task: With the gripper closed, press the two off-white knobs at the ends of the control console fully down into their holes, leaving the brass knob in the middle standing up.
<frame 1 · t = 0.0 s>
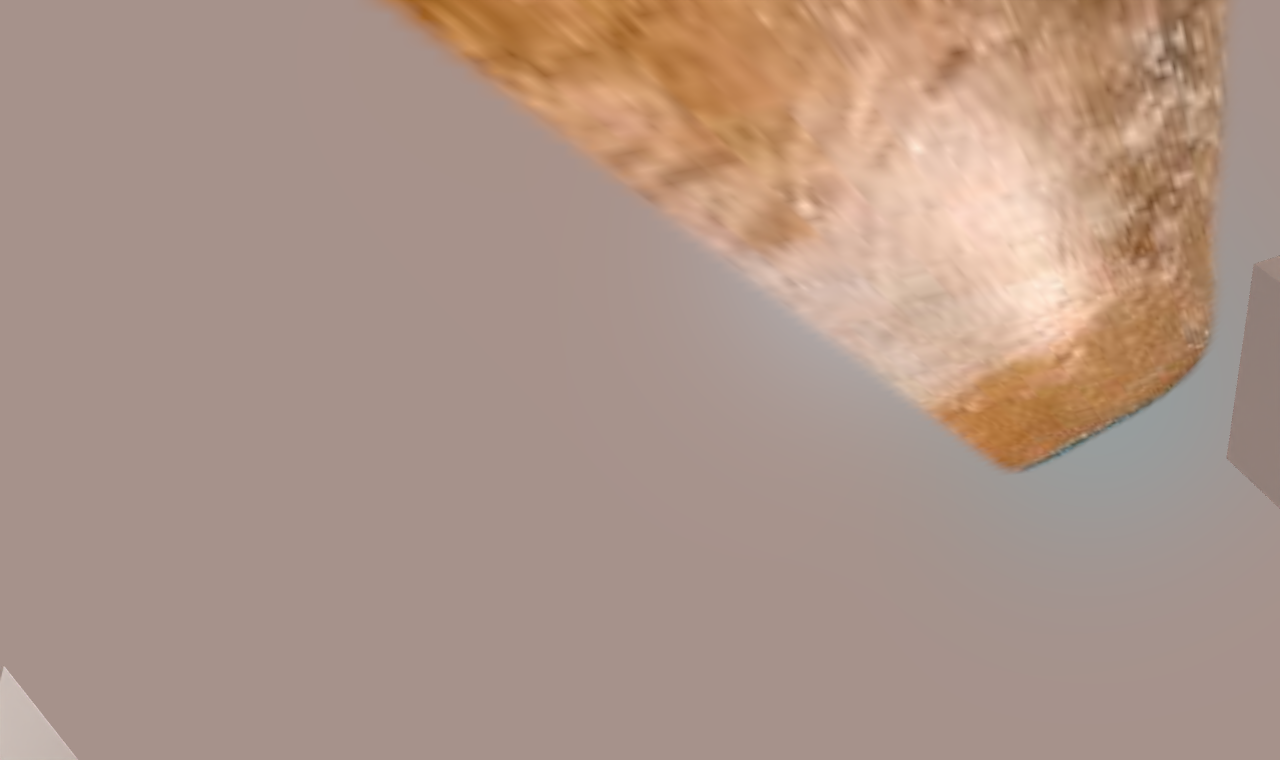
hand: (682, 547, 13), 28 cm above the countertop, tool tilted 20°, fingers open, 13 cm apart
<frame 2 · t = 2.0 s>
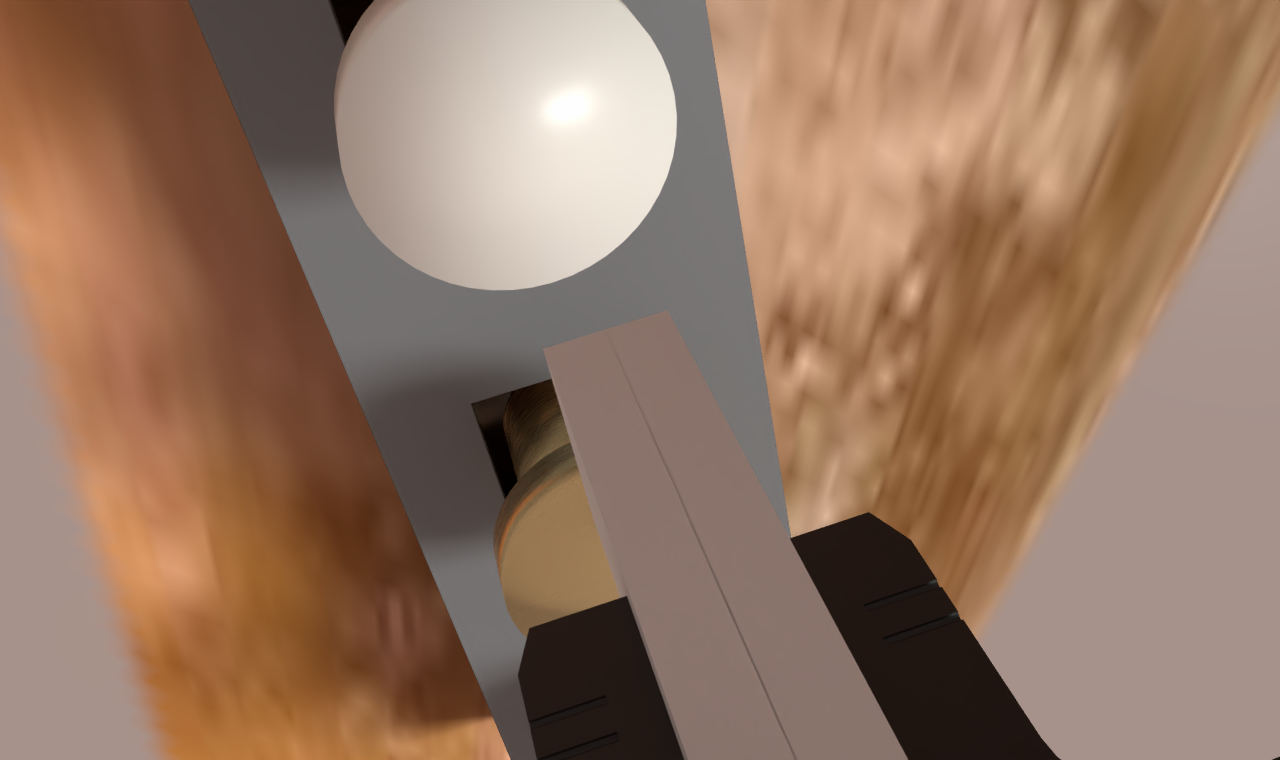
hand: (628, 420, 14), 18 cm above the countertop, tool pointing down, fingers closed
console: (551, 347, 35), on the countertop
brass knob: (602, 486, 30), point 7 cm above the countertop, slide at 0.0 cm
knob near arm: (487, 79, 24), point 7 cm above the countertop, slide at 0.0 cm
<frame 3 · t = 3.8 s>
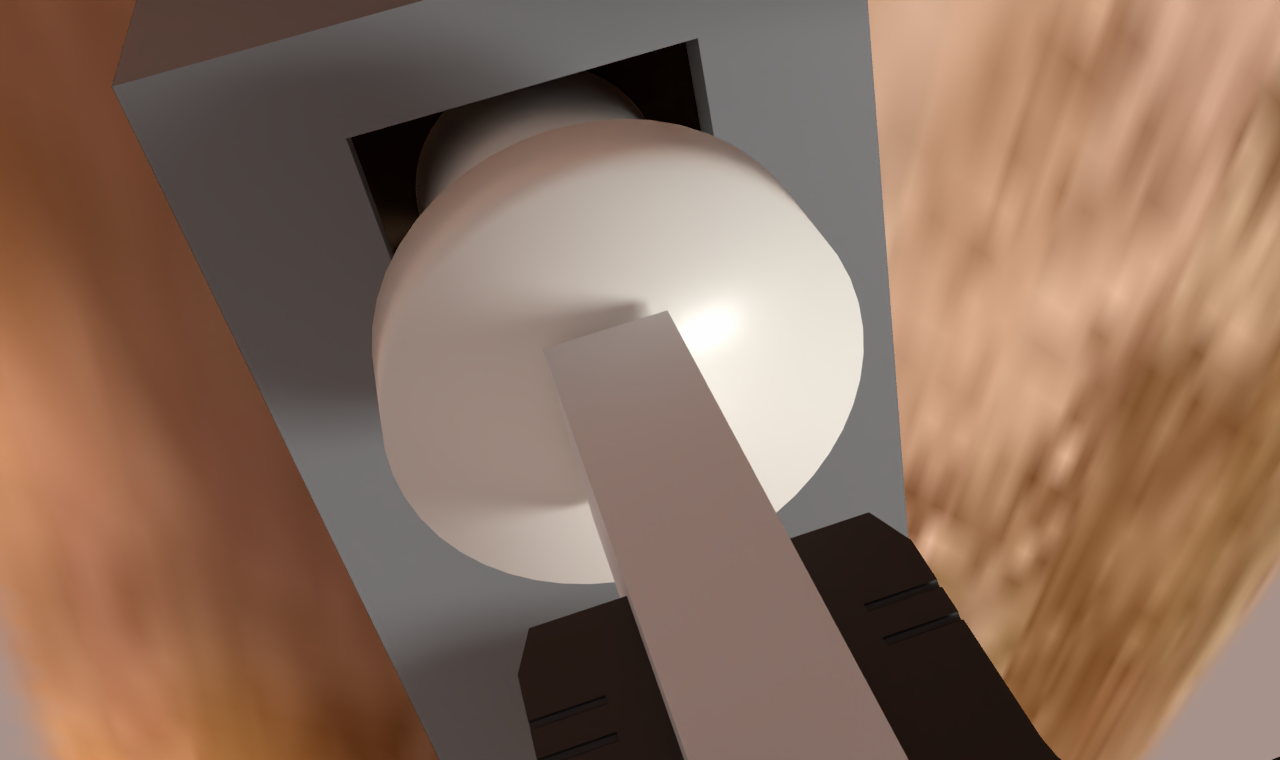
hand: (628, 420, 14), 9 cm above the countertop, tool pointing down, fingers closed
console: (627, 538, 28), on the countertop
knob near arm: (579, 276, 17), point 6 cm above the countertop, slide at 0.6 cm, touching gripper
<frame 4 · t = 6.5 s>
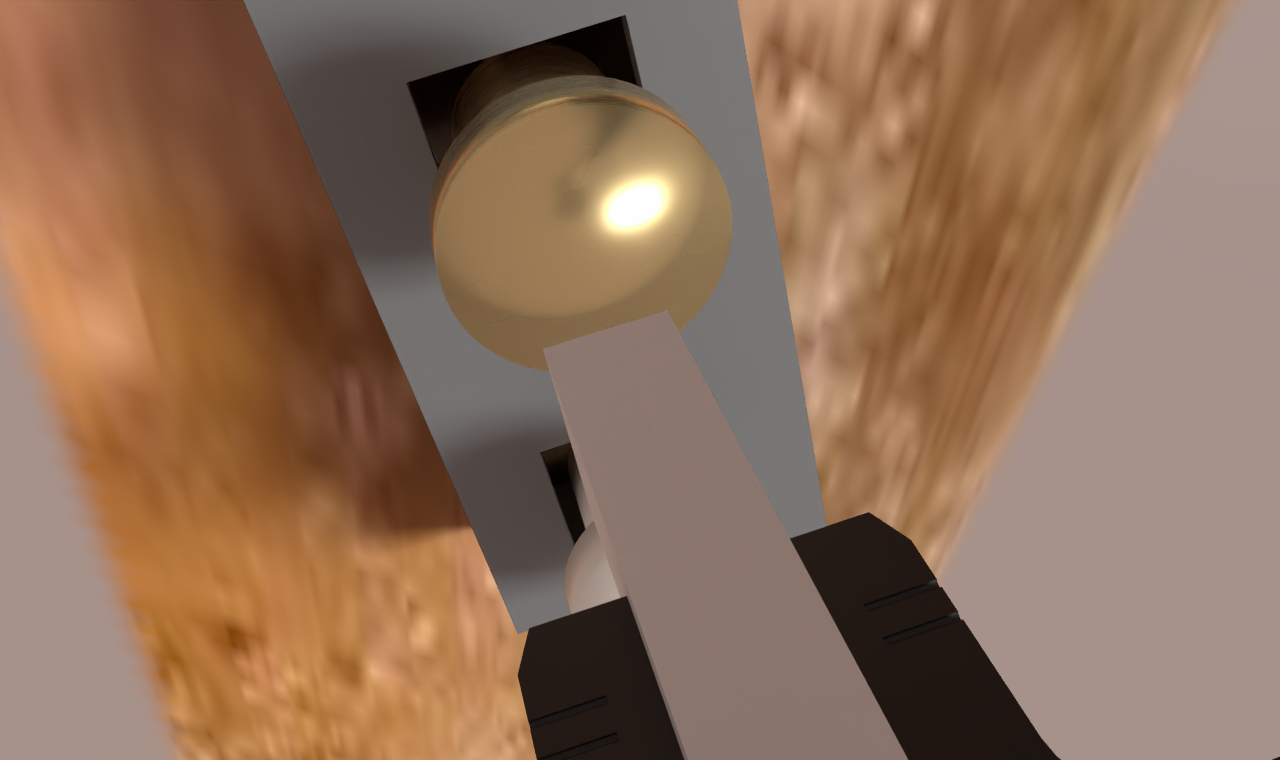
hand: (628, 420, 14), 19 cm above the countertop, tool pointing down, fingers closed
console: (512, 70, 32), on the countertop
brass knob: (559, 180, 26), point 7 cm above the countertop, slide at 0.0 cm
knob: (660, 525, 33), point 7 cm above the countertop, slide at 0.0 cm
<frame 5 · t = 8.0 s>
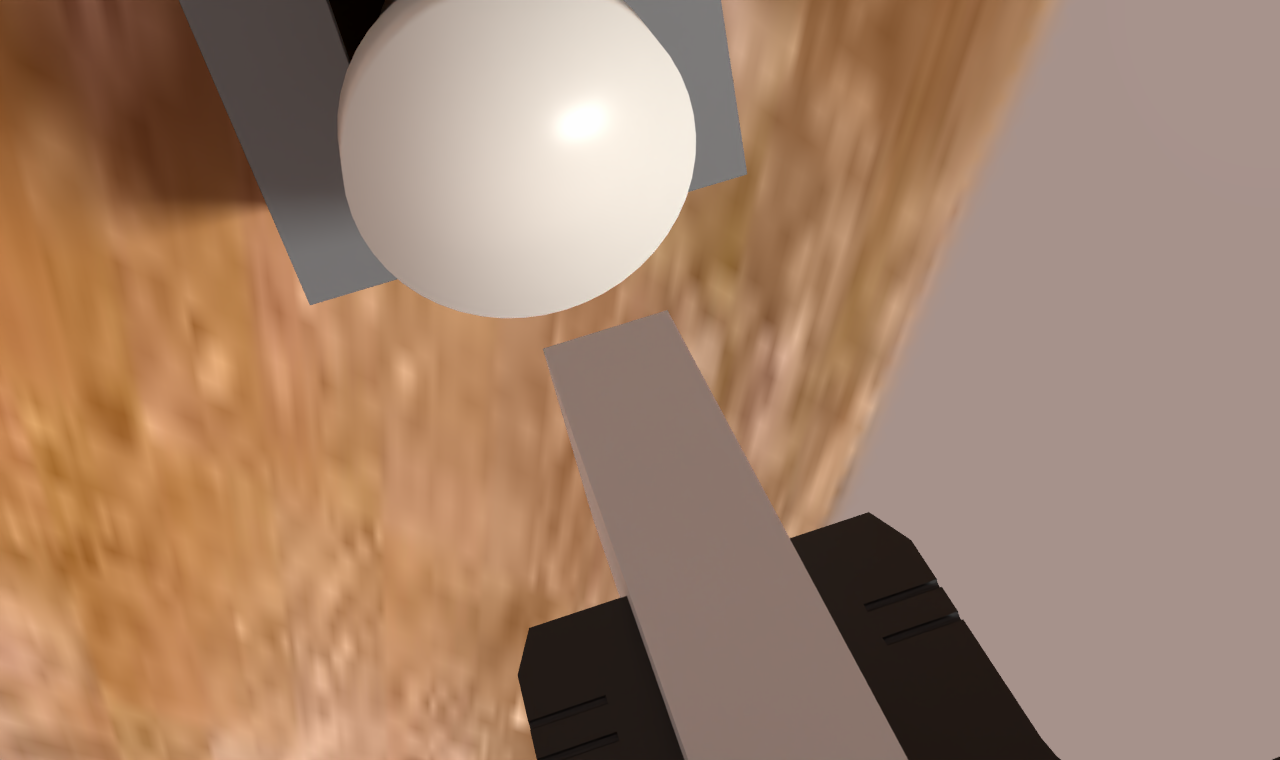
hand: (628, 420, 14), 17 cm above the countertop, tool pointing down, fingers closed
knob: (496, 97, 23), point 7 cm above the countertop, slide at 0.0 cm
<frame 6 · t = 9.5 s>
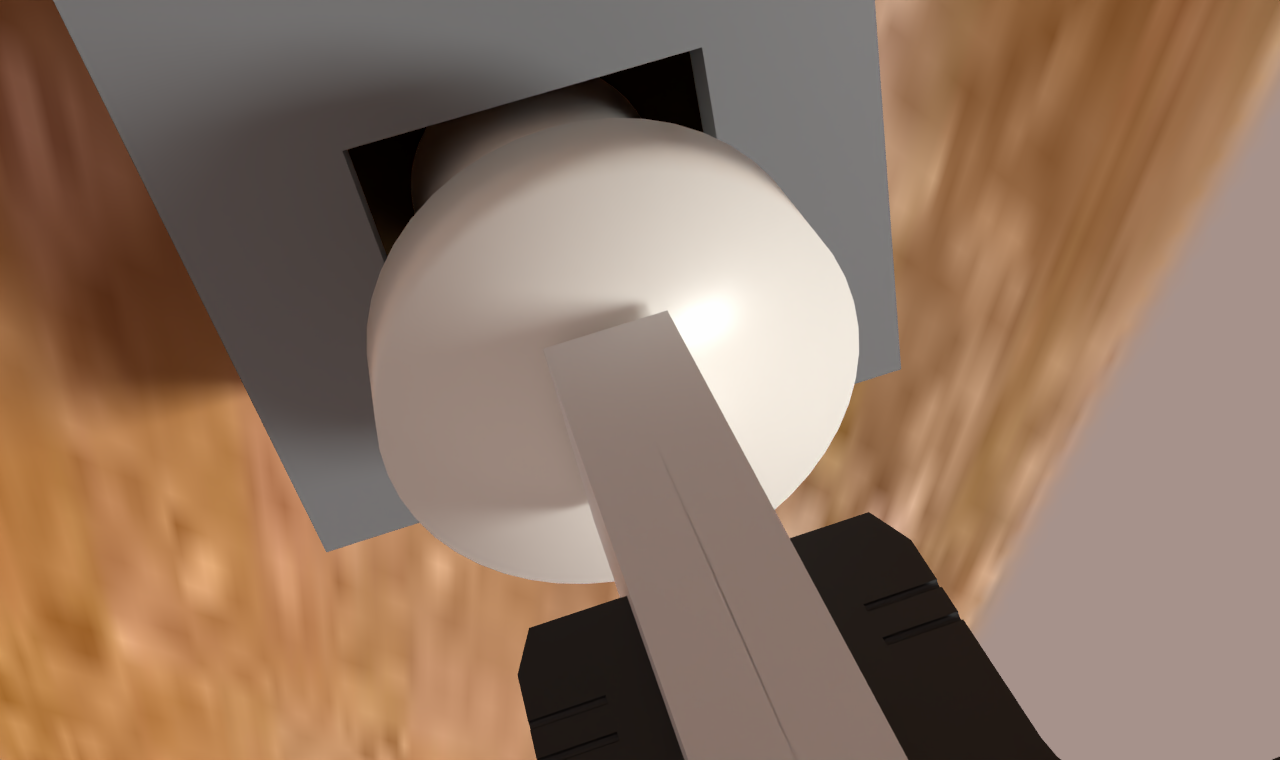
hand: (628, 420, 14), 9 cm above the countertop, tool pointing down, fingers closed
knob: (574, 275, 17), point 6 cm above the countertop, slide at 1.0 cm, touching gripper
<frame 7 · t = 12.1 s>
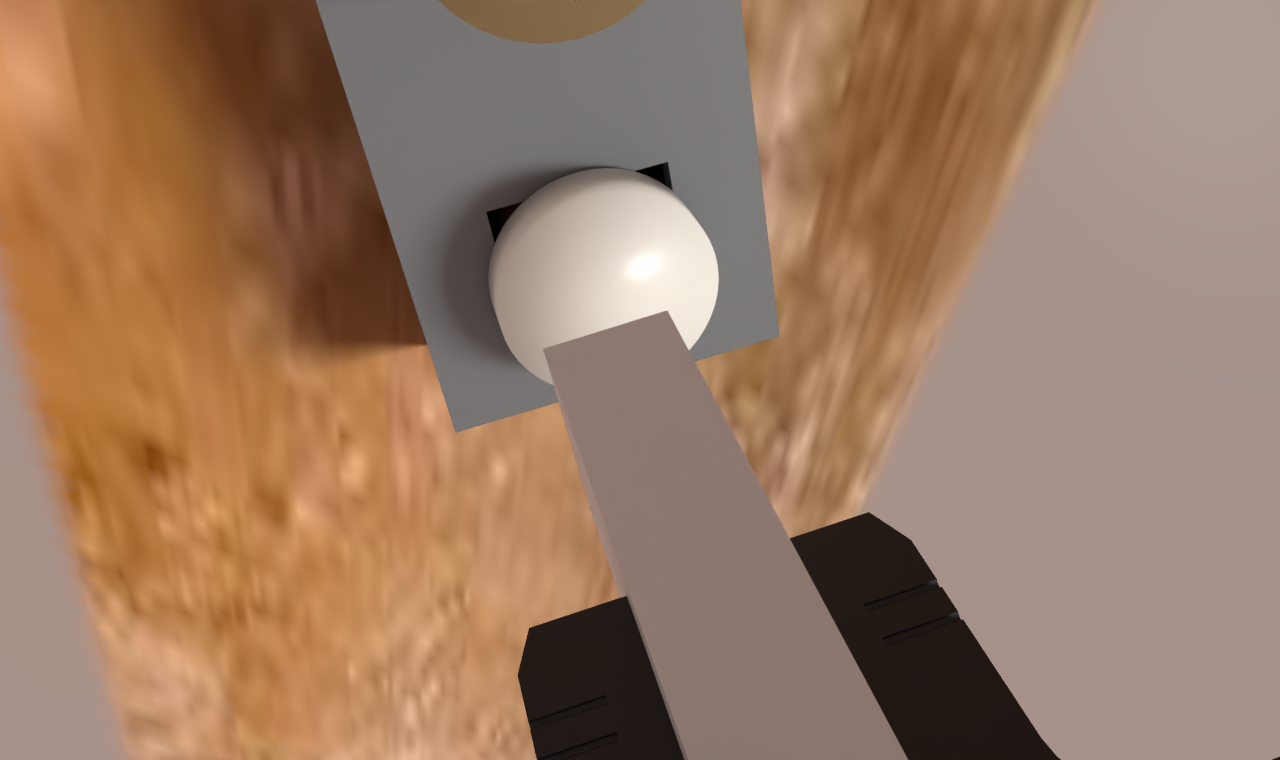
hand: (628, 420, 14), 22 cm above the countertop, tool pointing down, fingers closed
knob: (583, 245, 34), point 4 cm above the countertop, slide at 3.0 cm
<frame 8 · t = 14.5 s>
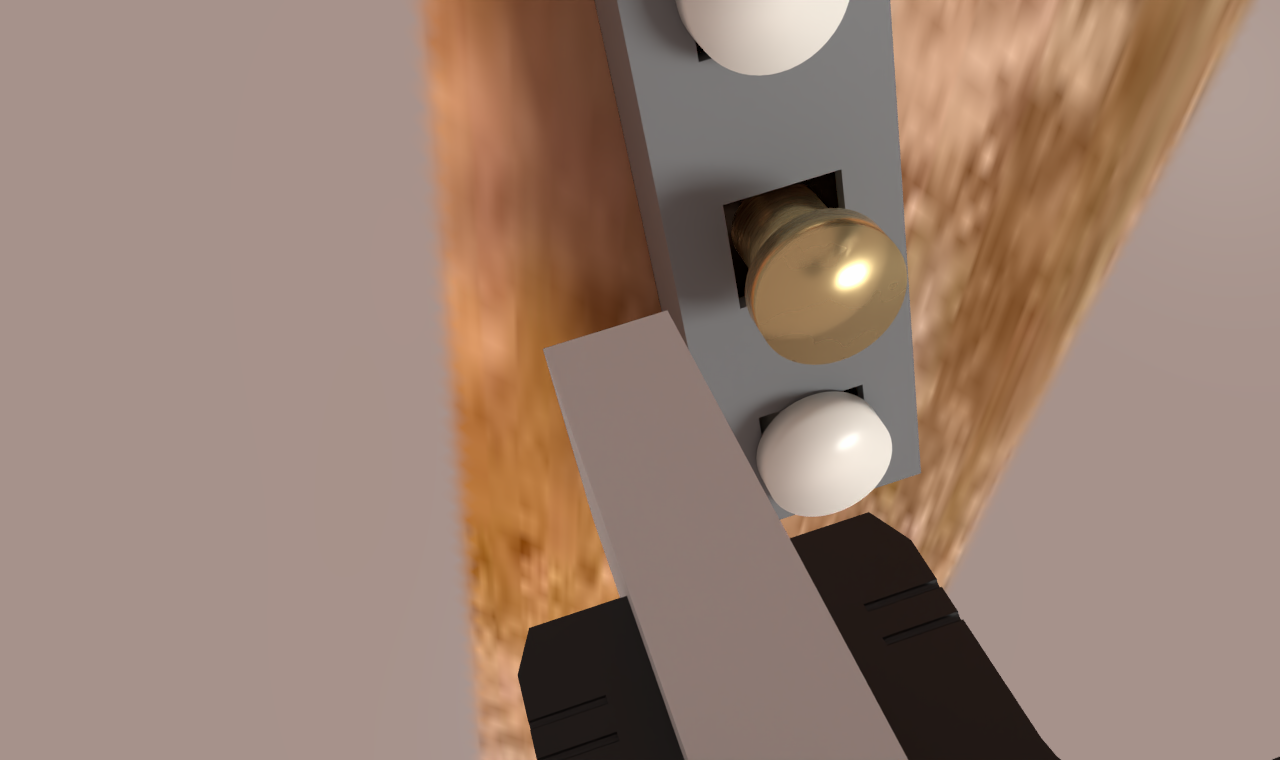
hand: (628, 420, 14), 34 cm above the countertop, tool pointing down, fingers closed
console: (749, 189, 53), on the countertop
brass knob: (803, 259, 48), point 7 cm above the countertop, slide at 0.0 cm
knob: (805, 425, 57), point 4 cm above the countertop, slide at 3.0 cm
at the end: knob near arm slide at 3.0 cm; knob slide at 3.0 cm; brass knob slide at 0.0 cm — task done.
